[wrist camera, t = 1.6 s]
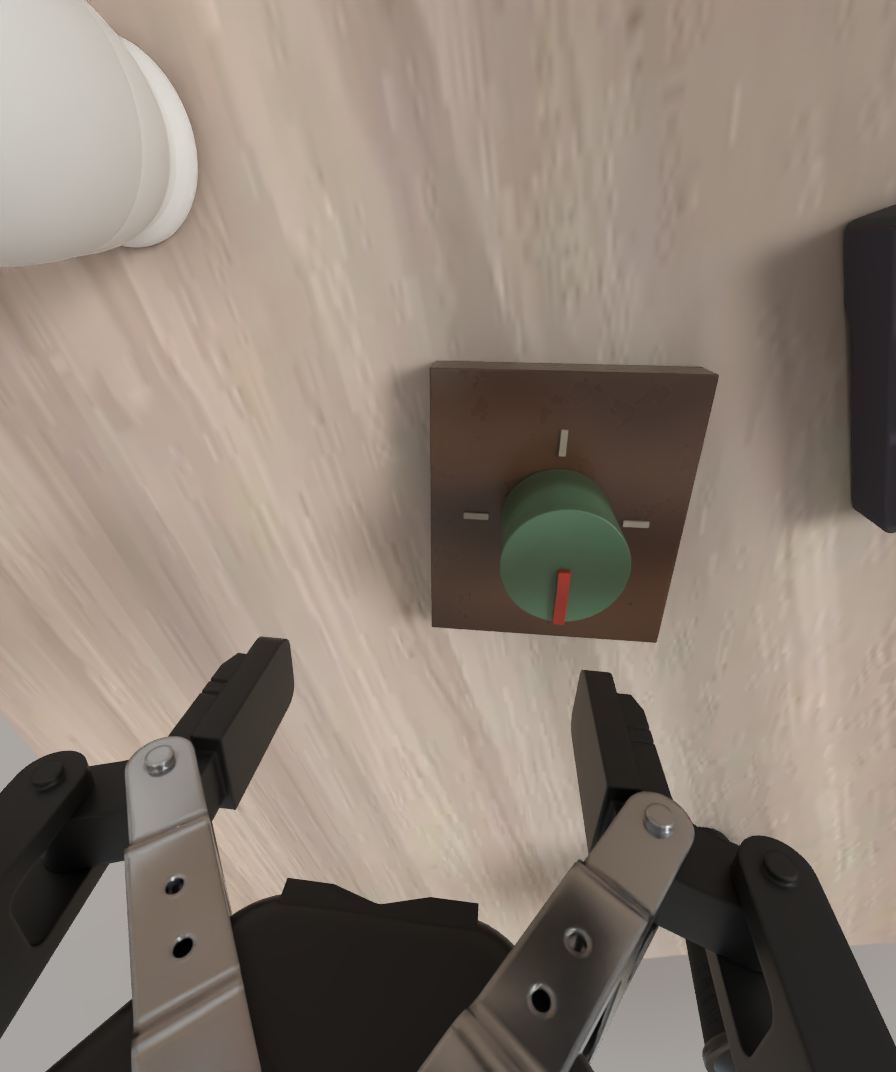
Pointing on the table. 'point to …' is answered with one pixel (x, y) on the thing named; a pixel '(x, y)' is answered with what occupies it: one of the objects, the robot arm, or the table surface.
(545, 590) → the knob
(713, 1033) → the drinking cup
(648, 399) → the base
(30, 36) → the jar
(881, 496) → the calculator
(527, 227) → the table surface
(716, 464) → the table surface
